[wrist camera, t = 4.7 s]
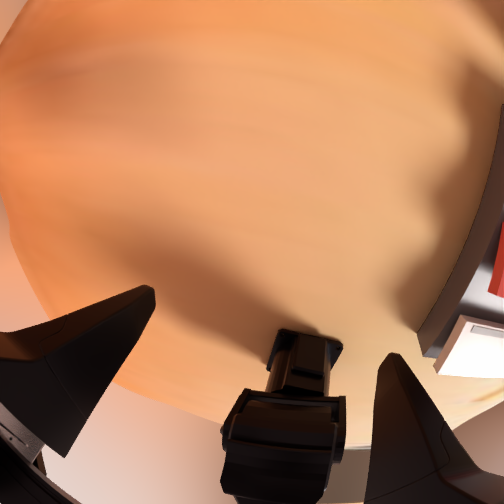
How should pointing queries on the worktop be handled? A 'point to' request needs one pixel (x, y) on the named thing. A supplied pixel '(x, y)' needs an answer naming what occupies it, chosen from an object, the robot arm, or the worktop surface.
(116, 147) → the worktop surface
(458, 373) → the plate
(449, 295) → the rocker switch panel
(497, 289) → the rocker red
